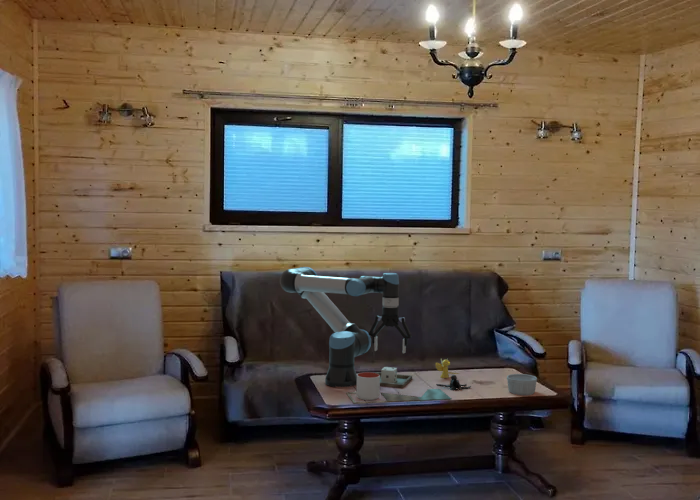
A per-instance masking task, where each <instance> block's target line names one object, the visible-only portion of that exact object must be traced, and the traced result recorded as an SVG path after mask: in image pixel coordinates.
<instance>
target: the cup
mask: <svg viewBox="0 0 700 500" xmlns="http://www.w3.org/2000/svg"><path fill="white" fill-rule="evenodd" d="M356 375H357V385H356V391H355V392H356V397H357V398H358V399H359V400H363V401H376V400H377V399H379V397H380V394H381V391H380V390H381V386H380V375H379V374H377V373H376V372H371V371H369V372H368V371H367V372H365V371H364V372H359V373H356Z"/></svg>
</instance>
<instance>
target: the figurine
mask: <svg viewBox="0 0 700 500" xmlns="http://www.w3.org/2000/svg"><path fill="white" fill-rule="evenodd" d="M440 362H441V363H439V362H434V363H435V369H436V370H437V371H439V372H441V375H440V378H441V379H449V378H450V376H449V375H450V374H451V375H460V373H457V372H451V371H449V366H451V362H450V360H448V358H447V359H443V360H442V358H440Z"/></svg>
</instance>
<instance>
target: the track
mask: <svg viewBox="0 0 700 500" xmlns="http://www.w3.org/2000/svg"><path fill="white" fill-rule="evenodd" d="M356 392H357V391H354V392H346V393H345V394H346V395H347V397H348V398H349V399H350V401H351V402H352V404H354V405H356V404H358V405H359V404H377V403H381V404H382V403H401V402H422V401H444V400H445V401H446V400H447V401H448V400H452V397H451V396H449V395H448V394H447V393H445V392H444V391H443V390H442V389H440V388H428V389H426V391H424V393H423V394H422V395H421V396H418V395H417V396H416V395H408V394H407V395H404V394H395V393H386V392H380V394H381V396H382V398H384V399H385V400H367V401H355V400H354V398H353V397H352V395H353V394H354V395H355V394H356Z"/></svg>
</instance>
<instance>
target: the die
mask: <svg viewBox="0 0 700 500" xmlns="http://www.w3.org/2000/svg"><path fill="white" fill-rule="evenodd" d="M380 373H381V382H385V383H395V382H396V381H397V374H398V367H390V366H384V367H382V369H381V370H380Z"/></svg>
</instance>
